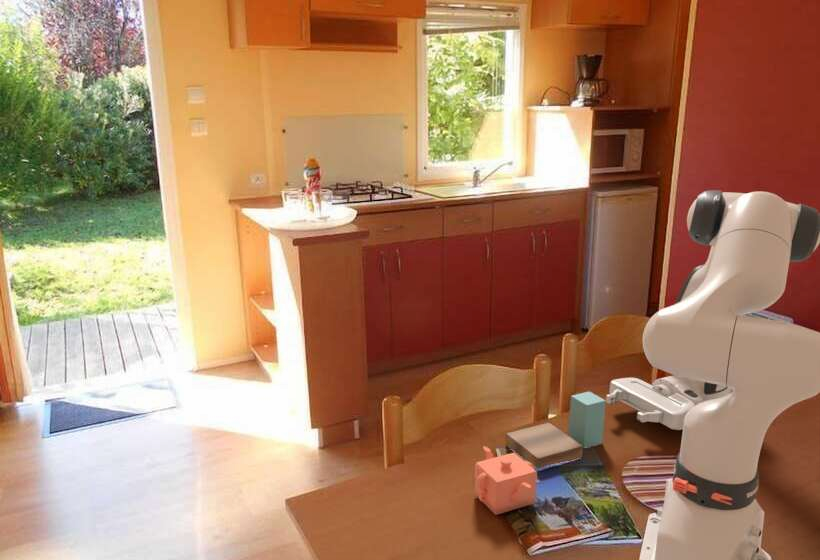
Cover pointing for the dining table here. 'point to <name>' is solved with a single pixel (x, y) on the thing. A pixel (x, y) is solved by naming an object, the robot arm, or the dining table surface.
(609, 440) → the dining table surface
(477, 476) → the teapot
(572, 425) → the teal pillar
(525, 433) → the walnut plinth
